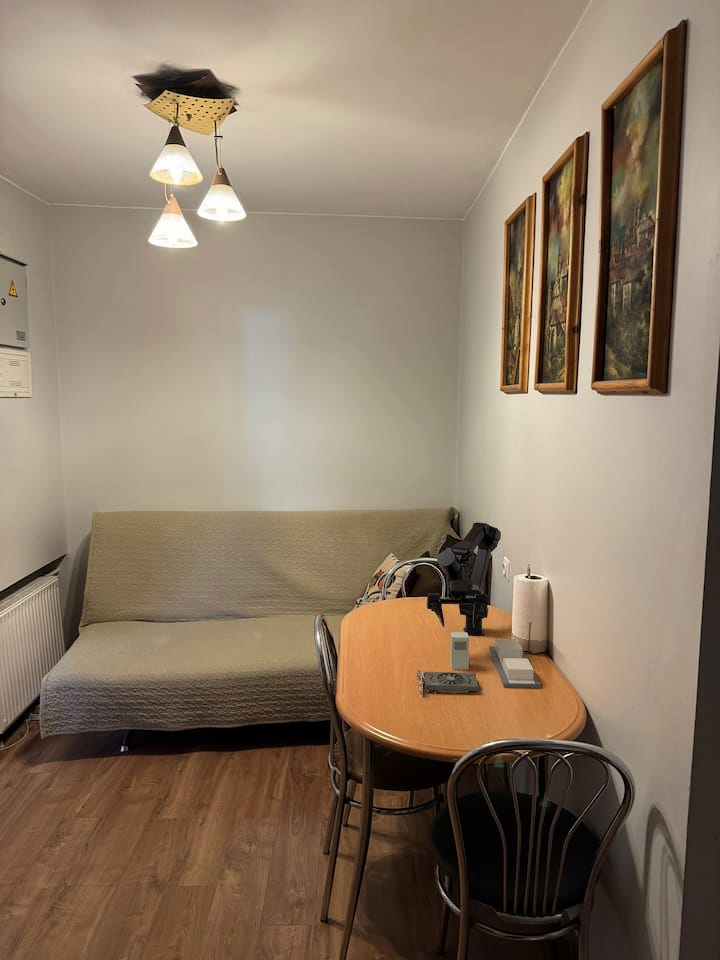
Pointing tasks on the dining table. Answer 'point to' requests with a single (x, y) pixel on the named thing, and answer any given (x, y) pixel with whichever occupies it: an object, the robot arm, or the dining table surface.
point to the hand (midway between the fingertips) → (458, 626)
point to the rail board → (513, 665)
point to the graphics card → (448, 682)
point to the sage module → (459, 651)
